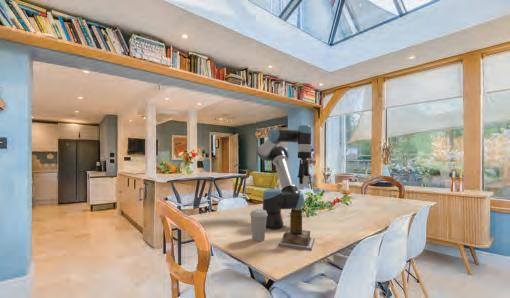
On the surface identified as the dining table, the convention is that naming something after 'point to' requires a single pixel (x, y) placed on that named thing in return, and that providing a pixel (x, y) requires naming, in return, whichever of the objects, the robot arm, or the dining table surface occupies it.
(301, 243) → the pedestal
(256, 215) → the coffee cup
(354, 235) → the dining table surface
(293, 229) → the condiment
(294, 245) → the plan board
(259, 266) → the dining table surface
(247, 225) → the dining table surface
